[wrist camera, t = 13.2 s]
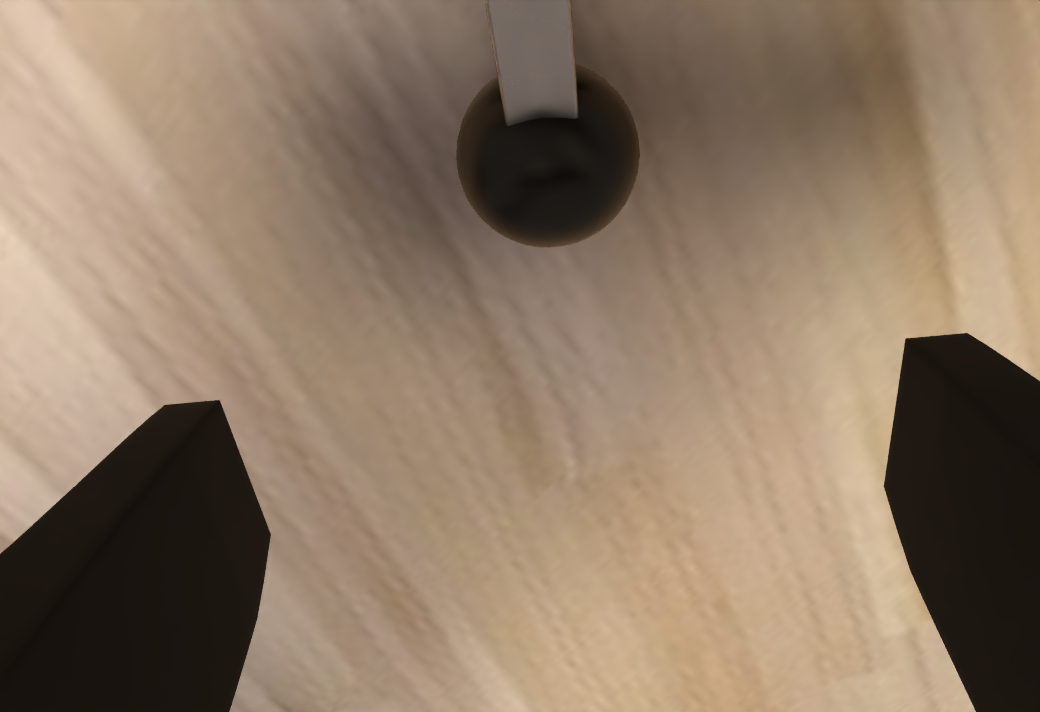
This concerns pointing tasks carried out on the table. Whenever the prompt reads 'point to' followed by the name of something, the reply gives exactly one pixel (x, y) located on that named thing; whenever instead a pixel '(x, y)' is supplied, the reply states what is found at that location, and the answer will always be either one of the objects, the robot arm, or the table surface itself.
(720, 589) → the table surface
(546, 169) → the ball knob lever
